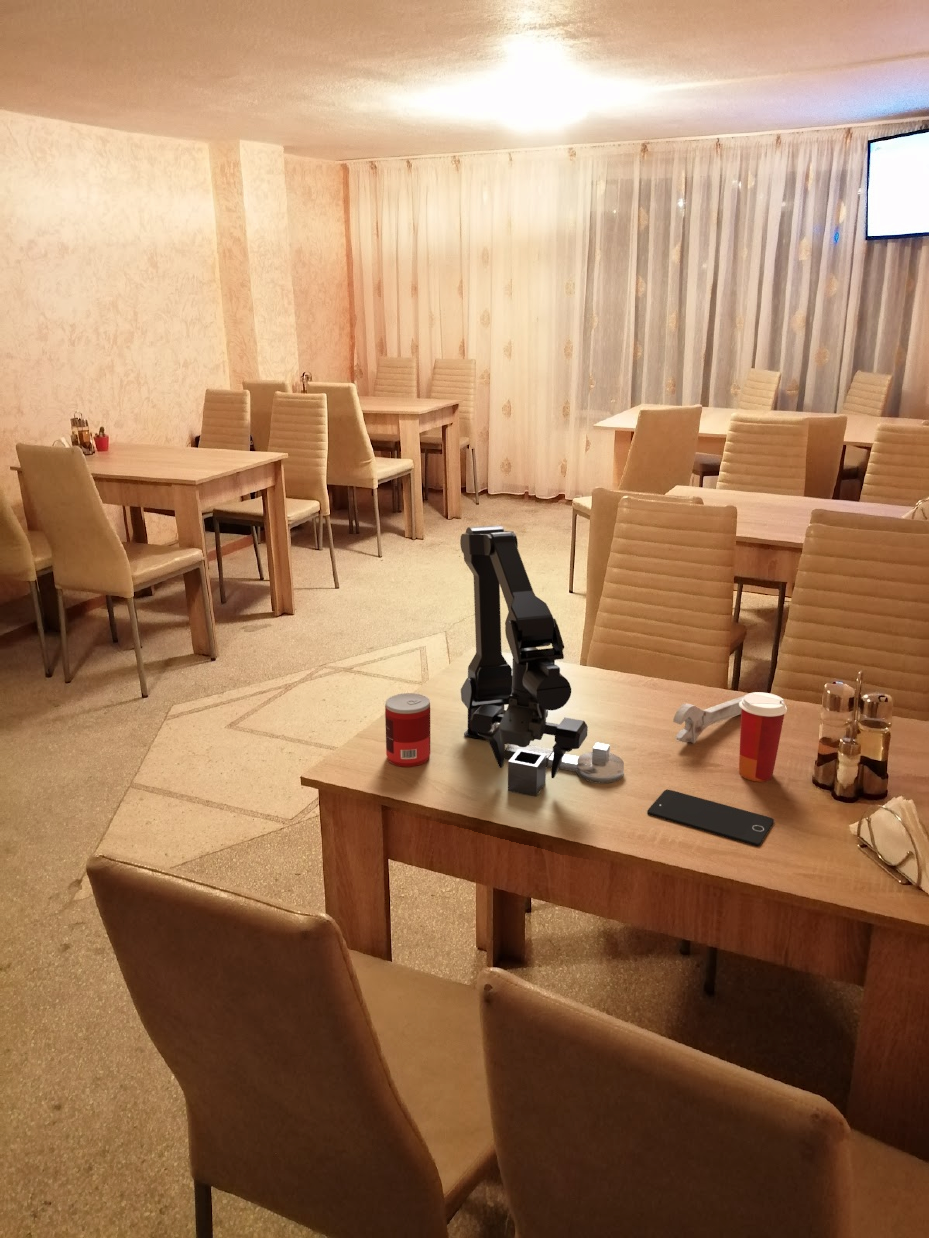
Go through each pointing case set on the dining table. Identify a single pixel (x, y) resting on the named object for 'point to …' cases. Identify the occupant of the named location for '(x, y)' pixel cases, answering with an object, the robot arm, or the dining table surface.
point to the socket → (527, 772)
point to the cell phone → (711, 817)
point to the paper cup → (760, 734)
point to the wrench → (703, 718)
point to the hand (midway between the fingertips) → (527, 772)
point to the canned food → (407, 729)
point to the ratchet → (582, 762)
